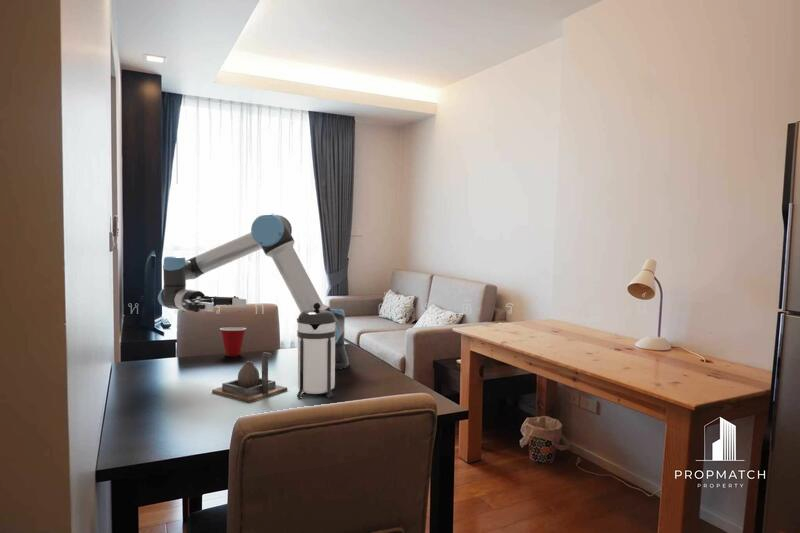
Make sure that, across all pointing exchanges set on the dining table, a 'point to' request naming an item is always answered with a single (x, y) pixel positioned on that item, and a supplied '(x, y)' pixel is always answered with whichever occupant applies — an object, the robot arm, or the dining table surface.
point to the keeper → (253, 393)
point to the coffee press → (316, 352)
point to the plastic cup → (233, 340)
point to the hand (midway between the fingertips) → (229, 305)
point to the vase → (248, 375)
